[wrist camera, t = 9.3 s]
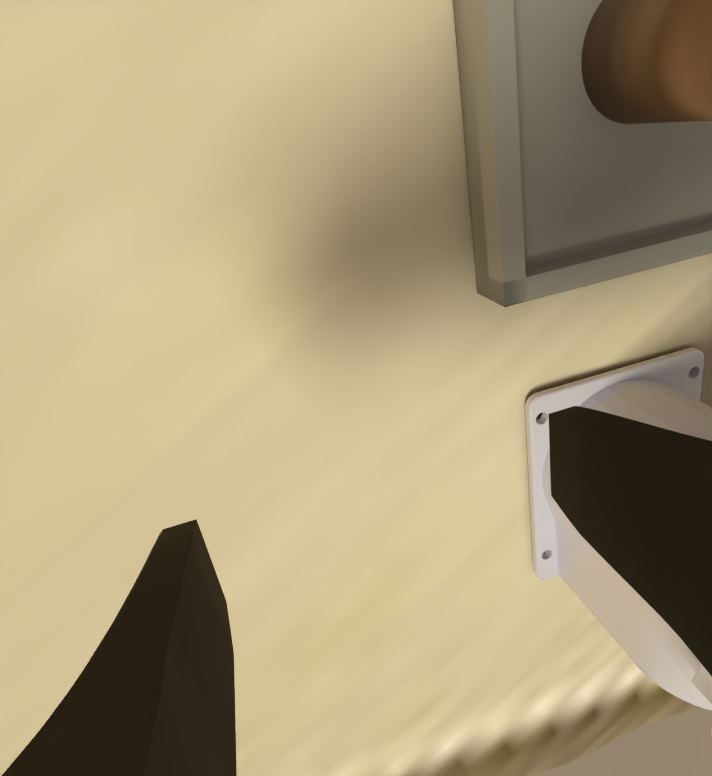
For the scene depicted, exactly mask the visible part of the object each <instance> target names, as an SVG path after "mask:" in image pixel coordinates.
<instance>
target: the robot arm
mask: <svg viewBox="0 0 712 776" xmlns="http://www.w3.org/2000/svg"><path fill="white" fill-rule="evenodd" d="M703 368H704V353H703V352H702V351H700V350H698V349H696V348H687V349H684V350H680V351H677V352H673V353H670V354H667V355H663V356H660V357H656V358H653V359H650V360H646V361H643V362H639V363H636V364H632V365H629V366H626V367H622V368H619V369H615V370H612V371H608V372H605V373H602V374H598V375H595V376H591V377H588V378H584V379H581V380H578V381H574V382H571V383H567V384H564V385H561V386H557V387H554V388H550V389H547V390H543V391H540V392H537V393H534V394H532V395H531V396H530V397H529V398H528V400H527V401H526V405H525V413H526V432H527V452H528V472H529V491H530V511H531V531H532V550H533V570H534V573H535V574H536V575H537V577H538V578H539V579H542V580H545V579H549V578H552V577H555V576H558V575H560V576H561V578H562V579H563V580H564V581H565V582H566V583H567V585H568V586H569V587H570V588H571V589H572V590H573V592H574V593H575V594H576V595H577V596H578V597H579V599H580V600H581V601H582V602H583V603H584V604H585V606H586V607H587V608H588V609H589V610H590V611H591V613H592V614H593V615H594V616H595V617H596V618H597V620H598V621H599V622H600V623H601V624H602V625H603V627H604V628H605V629H606V630H607V631H608V632H609V634H610V635H611V636H612V637H613V638H614V639H615V641H616V642H617V643H618V644H619V645H620V646H621V648H622V649H623V650H624V651H625V652H626V653H627V655H628V656H629V657H630V658H631V659H632V660H633V662H634V663H635V664H636V665H637V666H638V667H639V669H640V670H641V671H642V672H643V673H644V674H645V675H647V676H648V677H649V678H650V679H651V680H652V681H653V682H654V683H656V684H657V685H658V686H660V687H661V688H663V689H664V690H666V691H667V692H669V693H671V694H673V695H674V696H676V697H678V698H680V699H682V700H684V701H686V702H689V703H691V704H693V705H696V706H698V707H701V708H704V709H708V710H712V407H710V406H708V405H706V404H704V403H702V402H700V399H701V389H702V378H703ZM691 369H692V370H691ZM690 370H691V372H690V373H689V371H690ZM540 413H542V416H541V417H540V419H538V420H536V417H537V416H538V414H540ZM544 551H545V552H544ZM543 552H544V553H543ZM711 735H712V731H711ZM2 776H236V734H235V689H234V653H233V645H232V638H231V630H230V624H229V617H228V610H227V604H226V600H225V597H224V594H223V591H222V589H221V586H220V583H219V580H218V578H217V575H216V572H215V569H214V567H213V564H212V561H211V559H210V556H209V553H208V550H207V548H206V545H205V542H204V539H203V537H202V534H201V531H200V528H199V526H198V523H197V520H193V521H190V522H186V523H183V524H180V525H176V526H173V527H170V528H166V529H163V530H162V532H161V533H160V535H159V537H158V539H157V541H156V543H155V544H154V546H153V548H152V550H151V552H150V554H149V556H148V558H147V560H146V562H145V564H144V566H143V568H142V570H141V572H140V574H139V576H138V578H137V580H136V582H135V584H134V586H133V588H132V589H131V591H130V593H129V595H128V597H127V598H126V600H125V602H124V604H123V606H122V607H121V609H120V611H119V613H118V615H117V616H116V618H115V620H114V622H113V623H112V625H111V627H110V628H109V630H108V632H107V633H106V635H105V636H104V638H103V640H102V641H101V643H100V644H99V646H98V648H97V649H96V651H95V652H94V654H93V656H92V657H91V659H90V661H89V662H88V664H87V665H86V667H85V668H84V670H83V671H82V673H81V674H80V676H79V677H78V679H77V680H76V682H75V683H74V685H73V686H72V688H71V689H70V690H69V692H68V693H67V695H66V696H65V697H64V699H63V700H62V701H61V703H60V704H59V705H58V707H57V708H56V709H55V711H54V712H53V713H52V715H51V716H50V718H49V719H48V720H47V722H46V723H45V724H44V725H43V727H42V728H41V729H40V731H39V732H38V733H37V734H36V736H35V737H34V738H33V739H32V740H31V742H30V743H29V744H28V745H27V746H26V747H25V749H24V750H23V751H22V752H21V753H20V755H19V756H18V757H17V758H16V759H15V761H14V762H13V763H12V764H11V765H10V767H9V768H8V769H7V770H6V771H5V772H4V774H3V775H2Z"/></svg>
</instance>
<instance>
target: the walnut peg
mask: <svg viewBox="0 0 712 776" xmlns="http://www.w3.org/2000/svg"><path fill="white" fill-rule="evenodd" d="M581 68H582V78H583V83H584V87H585V90H586V93H587V95H588V97H589V99H590V101H591V103H592V104H593V106H594V107H595V108H596V110H597V111H598V112H599V113H600V114H602V115H603V116H604V117H606V118H607V119H609V120H611V121H613V122H616V123H621V124H642V123H666V122H689V121H712V0H603V1H602V2H601V3H600V5H599V6H598V8H597V9H596V11H595V13H594V15H593V17H592V19H591V21H590V23H589V26H588V28H587V31H586V35H585V38H584V42H583V48H582V58H581Z"/></svg>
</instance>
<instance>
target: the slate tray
mask: <svg viewBox="0 0 712 776" xmlns="http://www.w3.org/2000/svg"><path fill="white" fill-rule="evenodd" d="M602 1H603V0H453V8H454V20H455V32H456V44H457V56H458V68H459V80H460V92H461V104H462V116H463V128H464V140H465V152H466V164H467V176H468V188H469V200H470V212H471V224H472V236H473V248H474V260H475V272H476V284H477V293H479V294H481V295H483V296H484V297H486V298H488V299H490V300H492V301H494V302H496V303H498V304H500V305H502V306H504V307H507V306H510V305H514V304H518V303H522V302H526V301H529V300H533V299H537V298H541V297H545V296H549V295H552V294H556V293H560V292H564V291H568V290H571V289H575V288H579V287H583V286H587V285H590V284H594V283H598V282H602V281H606V280H610V279H613V278H617V277H621V276H625V275H629V274H632V273H636V272H640V271H644V270H648V269H652V268H655V267H659V266H663V265H667V264H671V263H674V262H678V261H682V260H686V259H690V258H693V257H697V256H701V255H705V254H709V253H712V121H689V122H666V123H642V124H621V123H616V122H613V121H611V120H609V119H607V118H606V117H604V116H603V115H602V114H600V113H599V112H598V111H597V110H596V108H595V107H594V106H593V104H592V103H591V101H590V99H589V97H588V95H587V93H586V90H585V87H584V83H583V78H582V68H581V58H582V48H583V42H584V38H585V35H586V31H587V28H588V26H589V23H590V21H591V19H592V17H593V15H594V13H595V11H596V9H597V8H598V6H599V5H600V3H601V2H602Z"/></svg>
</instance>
